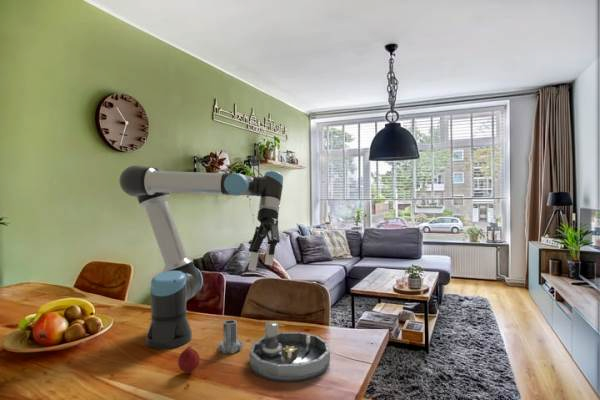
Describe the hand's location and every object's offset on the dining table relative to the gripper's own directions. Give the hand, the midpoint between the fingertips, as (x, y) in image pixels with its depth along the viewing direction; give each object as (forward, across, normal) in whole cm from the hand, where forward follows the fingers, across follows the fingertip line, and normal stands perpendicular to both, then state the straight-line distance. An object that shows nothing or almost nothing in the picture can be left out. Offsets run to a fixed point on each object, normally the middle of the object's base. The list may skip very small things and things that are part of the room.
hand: (259, 267), depth 124 cm
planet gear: (+27, +8, +2) cm, 28 cm away
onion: (+35, 0, +17) cm, 39 cm away
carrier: (+28, -10, -10) cm, 32 cm away
